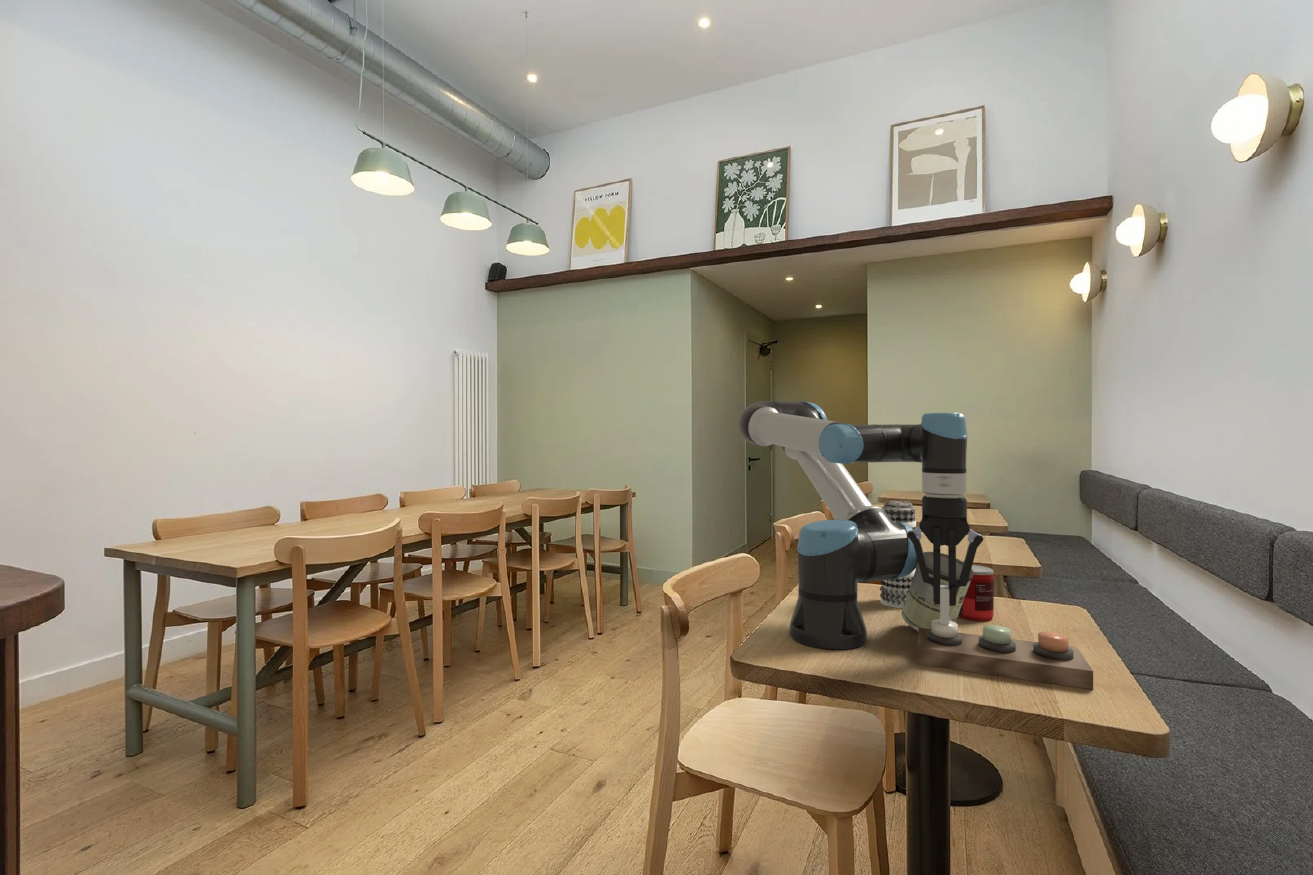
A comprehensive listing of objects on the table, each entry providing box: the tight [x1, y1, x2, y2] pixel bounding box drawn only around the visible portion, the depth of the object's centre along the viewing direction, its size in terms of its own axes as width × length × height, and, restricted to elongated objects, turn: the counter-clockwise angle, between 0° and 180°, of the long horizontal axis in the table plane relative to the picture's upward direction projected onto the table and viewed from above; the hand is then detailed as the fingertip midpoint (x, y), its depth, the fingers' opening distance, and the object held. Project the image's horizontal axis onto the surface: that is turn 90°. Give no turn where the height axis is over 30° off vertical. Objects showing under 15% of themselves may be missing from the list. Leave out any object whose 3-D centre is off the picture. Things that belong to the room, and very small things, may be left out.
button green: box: [982, 624, 1012, 644], centre depth 106 cm, size 4×4×2 cm
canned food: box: [958, 564, 995, 622], centre depth 134 cm, size 8×8×11 cm
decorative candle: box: [879, 500, 918, 609], centre depth 145 cm, size 9×9×25 cm
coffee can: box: [900, 551, 974, 632], centre depth 122 cm, size 10×10×14 cm
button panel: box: [916, 628, 1094, 690], centre depth 106 cm, size 26×12×4 cm, turn 65°
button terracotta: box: [1037, 631, 1070, 652], centre depth 103 cm, size 4×4×2 cm
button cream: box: [931, 620, 959, 638], centre depth 110 cm, size 4×4×2 cm
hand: (944, 621), depth 110 cm, fingers closed
